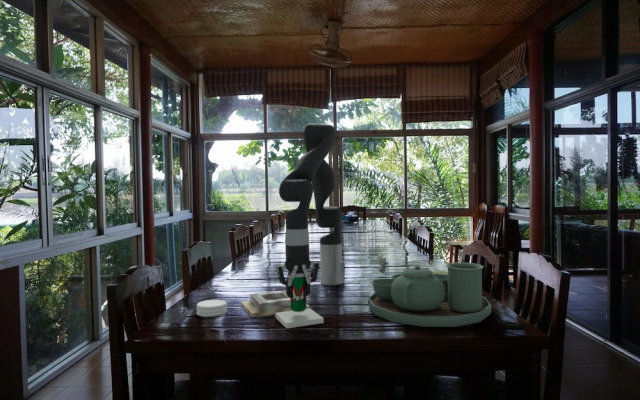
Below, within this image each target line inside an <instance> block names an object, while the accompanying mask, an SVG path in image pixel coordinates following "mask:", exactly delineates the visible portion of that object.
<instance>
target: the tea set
mask: <svg viewBox="0 0 640 400" xmlns="http://www.w3.org/2000/svg"><path fill="white" fill-rule="evenodd" d="M445 266H446V268H447V272H448V275H445V274H433V272H434V271H432V270H430V269H429V268H427V267H425V268H424V267H421V266H420V265H415V266H414V267H411V268H410V267H409V268H406V269H404V270H403V271H402V273H397V274H393V275H391V277H390V278H387V277H386V278H376V279H373V280H372V281H371V284H372V286H373V290H374V293H372V294H371V295H370V296H367V305H368V306H369V308H370V310H371V312H372V313H373V315H375V316H377V317H379V318H382V319H384V320H387V321H389V322H392V323H396V324H397V323H398V324H404V325H409V326H414V327H415V326H417V327H420V328H421V327H422V328H424V327H425V328H455V327H462V326H467V325H471V324H478V323H481V322H482V321H483V320H485V319H486V318H487V317H489V316H490V315H491V314H492V304H491V303H490V302H489V299H487V297H486V296H483V268H484V267H485V266H484V265H482V264H480V263H473V262H446V264H445Z"/></svg>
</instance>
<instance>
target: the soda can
mask: <svg viewBox="0 0 640 400" xmlns="http://www.w3.org/2000/svg"><path fill="white" fill-rule="evenodd" d="M291 286H292V298H290V301H291V310H292V311H294V312H302V311H305V310H306V308H307V304H308V303H307V301H308V299H307V296H306V277H305V275H304V273H296V274H295V277H294V279H293V281H292V284H291Z"/></svg>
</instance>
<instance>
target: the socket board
mask: <svg viewBox="0 0 640 400" xmlns="http://www.w3.org/2000/svg"><path fill="white" fill-rule="evenodd" d="M249 299H250V300H244V301H243V300H241V301H240V302H241V307H242V308H243V309H244V310H245V312H246V313H247V314H248V315H249V316H250V317H251V318H252V319H253V318H260V317H267V316H275V313H278V312H285V311H292V310H291V301H290V298H289V297H288V296H287V295H286V289H284V290H275V291H266V292H258V293H249ZM308 308H310V305H309V304H308V303H307V308H306V309H308Z"/></svg>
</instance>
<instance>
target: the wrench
mask: <svg viewBox="0 0 640 400" xmlns="http://www.w3.org/2000/svg"><path fill="white" fill-rule="evenodd" d="M377 255H378V256H377V262H378V270H379V271H383V270H384V268H383V267H384V264H386V263H387V257H386V256H383V254H381V253H380V254H377Z"/></svg>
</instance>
